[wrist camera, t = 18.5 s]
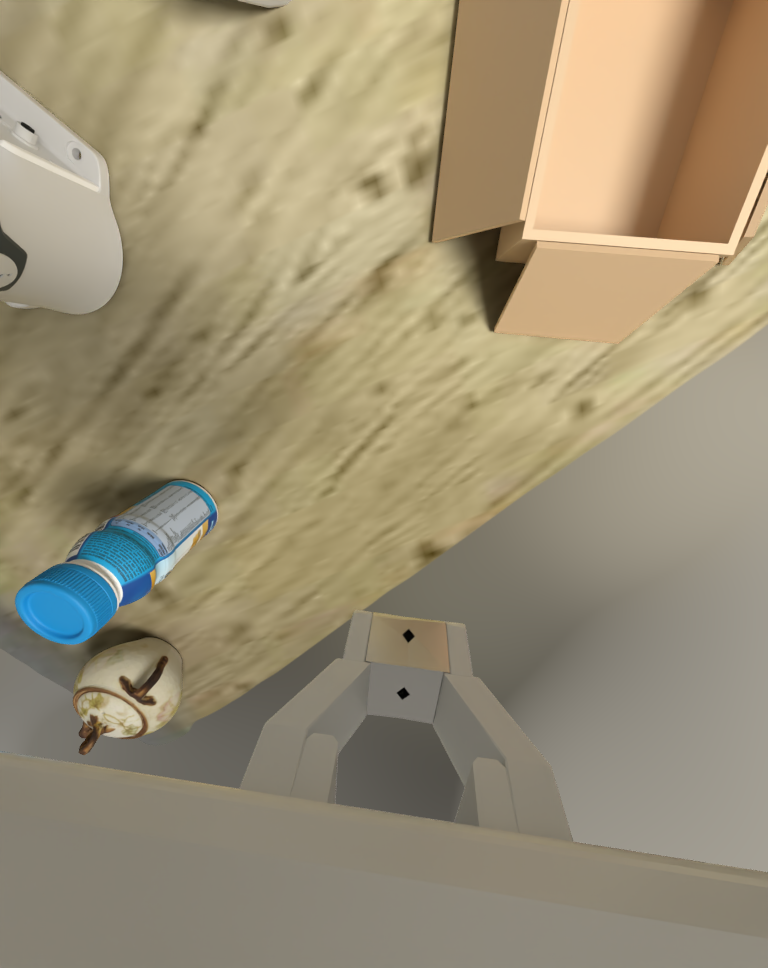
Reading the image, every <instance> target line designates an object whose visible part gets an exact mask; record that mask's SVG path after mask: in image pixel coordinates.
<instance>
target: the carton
mask: <svg viewBox="0 0 768 968" xmlns="http://www.w3.org/2000/svg"><path fill="white" fill-rule="evenodd" d="M767 204H768V0H459V9H458V18H457V27H456V35H455V44H454V53H453V61H452V70H451V79H450V88H449V96H448V105H447V114H446V123H445V131H444V140H443V149H442V157H441V166H440V175H439V184H438V192H437V201H436V210H435V219H434V227H433V236H432V242H435V243H438V242H442V241H446V240H450V239H454V238H458V237H462V236H466V235H470V234H474V233H478V232H482V231H486V230H490V229H494V228H498V227H501V231H500V237H499V242H498V248H497V254H496V259H495V261H500V262H512V263H525V264H526V265H525V267H524V269H523V271H522V273H521V275H520V277H519V279H518V281H517V283H516V285H515V287H514V289H513V291H512V293H511V295H510V297H509V299H508V301H507V303H506V305H505V307H504V309H503V311H502V313H501V315H500V317H499V319H498V321H497V323H496V325H495V327H494V333H505V334H516V335H527V336H538V337H550V338H561V339H572V340H583V341H594V342H605V343H616V344H618V343H620V342H621V341H622V340H623V339H625V338H626V337H627V336H628V335H630V334H631V333H632V332H633V331H634V330H636V329H637V328H638V327H639V326H641V325H642V324H643V323H644V322H646V321H647V320H648V319H649V318H650V317H652V316H653V315H654V314H655V313H657V312H658V311H659V310H660V309H662V308H663V307H664V306H665V305H666V304H668V303H669V302H670V301H671V300H673V299H674V298H675V297H676V296H678V295H679V294H680V293H681V292H682V291H684V290H685V289H686V288H687V287H689V286H690V285H691V284H692V283H694V282H695V281H696V280H697V279H698V278H700V277H701V276H702V275H703V274H705V273H706V272H707V271H708V270H710V269H711V268H712V267H713V266H714V265H716V264H717V263H718V262H719V258H722V257H725V258H724V260H723V263H722V265H729V264H730V263H731V262H732V261H733V260H734V259H735V258H736V256H737V255H738V254H739V253H740V252H741V251H742V250H743V248H744V247H745V246H746V245H747V244H748V243H749V242H750V241H751V239H752V238H753V237H754V235H755V233H756V231H757V228H758V226H759V223H760V221H761V219H762V216H763V214H764V212H765V209H766V207H767Z"/></svg>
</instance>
